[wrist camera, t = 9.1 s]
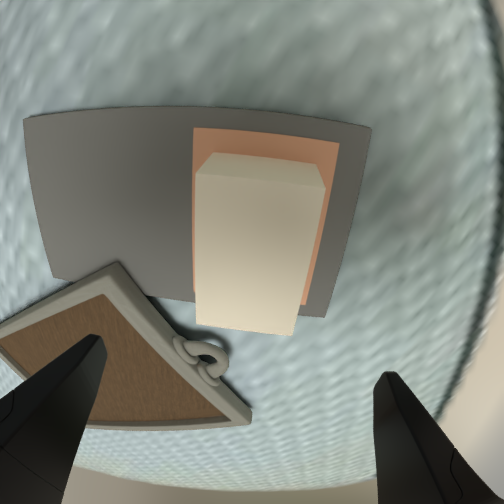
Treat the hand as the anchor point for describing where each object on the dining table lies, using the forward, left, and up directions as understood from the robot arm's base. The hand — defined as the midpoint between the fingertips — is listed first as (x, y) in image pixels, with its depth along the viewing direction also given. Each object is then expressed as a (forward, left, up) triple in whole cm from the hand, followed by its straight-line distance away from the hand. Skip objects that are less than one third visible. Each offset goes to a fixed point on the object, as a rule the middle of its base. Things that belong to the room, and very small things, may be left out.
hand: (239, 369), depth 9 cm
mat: (0, -5, -10) cm, 11 cm away
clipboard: (+18, -14, -10) cm, 25 cm away
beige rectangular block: (0, 0, -9) cm, 9 cm away
